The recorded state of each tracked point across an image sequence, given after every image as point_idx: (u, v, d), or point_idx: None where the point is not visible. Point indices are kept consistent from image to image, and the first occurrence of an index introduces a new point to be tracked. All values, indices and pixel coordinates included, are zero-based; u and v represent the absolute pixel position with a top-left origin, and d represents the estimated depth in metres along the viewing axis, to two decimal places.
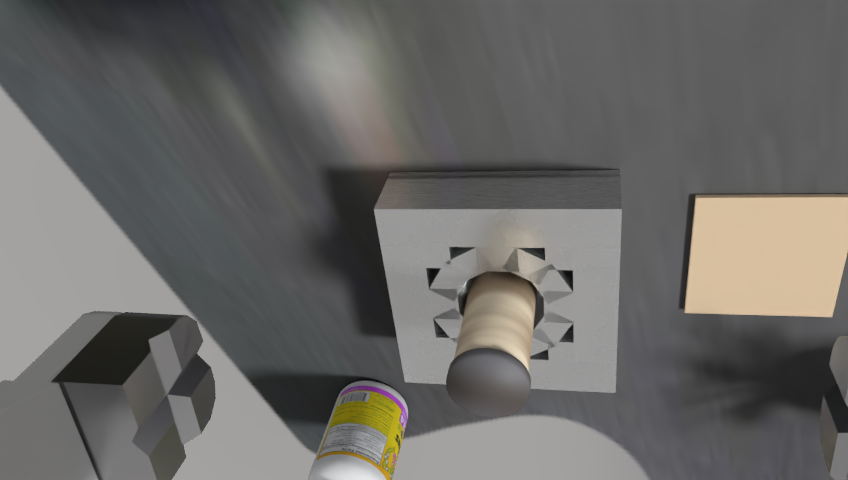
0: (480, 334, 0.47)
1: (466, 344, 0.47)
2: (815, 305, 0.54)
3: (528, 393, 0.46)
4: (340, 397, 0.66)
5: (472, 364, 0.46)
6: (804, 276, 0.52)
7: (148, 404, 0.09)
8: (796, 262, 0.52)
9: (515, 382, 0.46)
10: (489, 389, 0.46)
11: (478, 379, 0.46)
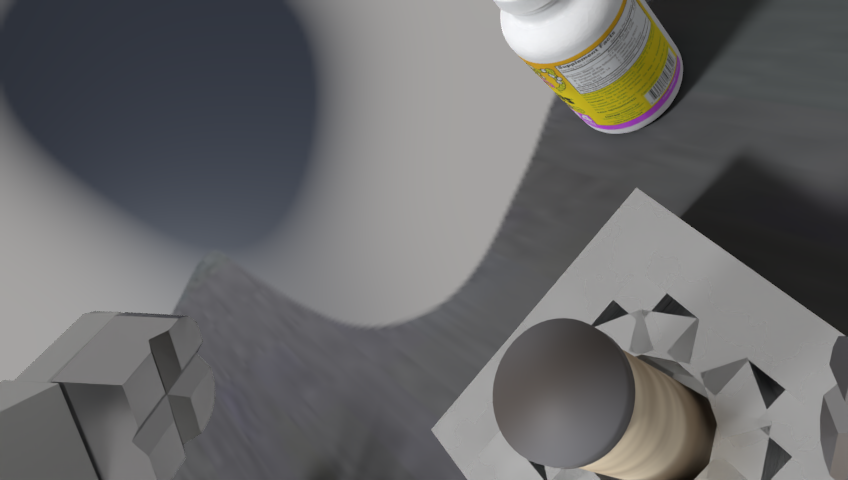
0: (638, 434, 0.27)
1: (639, 407, 0.26)
2: None
3: (505, 436, 0.27)
4: (676, 56, 0.41)
5: (607, 411, 0.25)
6: None
7: (148, 404, 0.09)
8: None
9: (534, 438, 0.26)
10: (551, 390, 0.27)
11: (577, 392, 0.26)
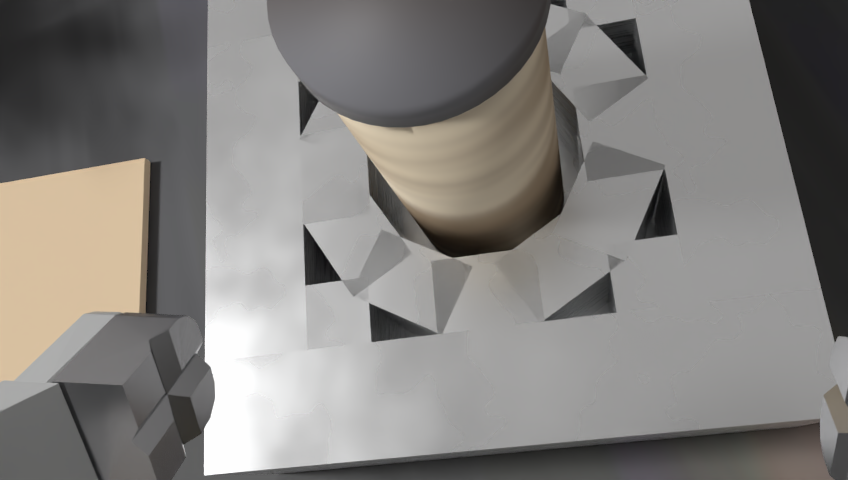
0: (467, 140, 0.15)
1: (503, 102, 0.14)
2: None
3: None
4: None
5: (455, 62, 0.13)
6: None
7: (148, 404, 0.09)
8: None
9: (311, 23, 0.14)
10: None
11: (433, 3, 0.13)
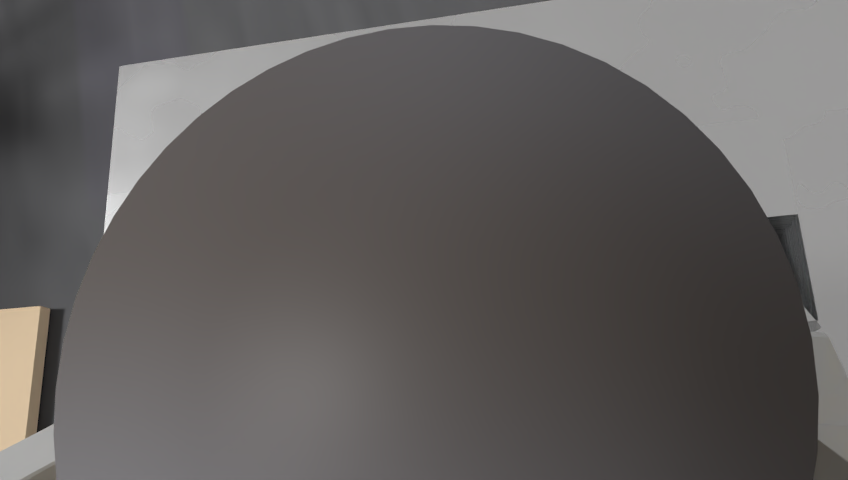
0: None
1: None
2: None
3: (71, 349, 0.06)
4: None
5: None
6: None
7: None
8: None
9: (155, 469, 0.05)
10: (381, 351, 0.05)
11: (479, 471, 0.05)
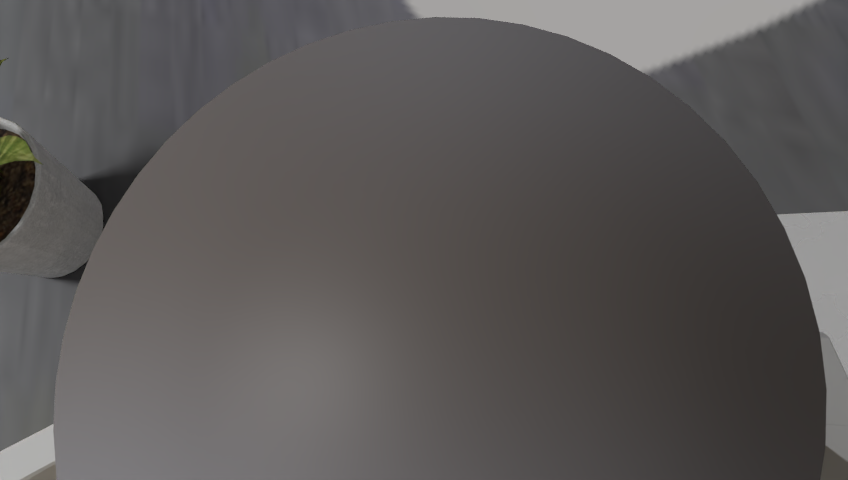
0: None
1: None
2: None
3: (71, 344, 0.06)
4: None
5: None
6: None
7: None
8: None
9: (156, 465, 0.05)
10: (384, 346, 0.05)
11: (483, 466, 0.05)
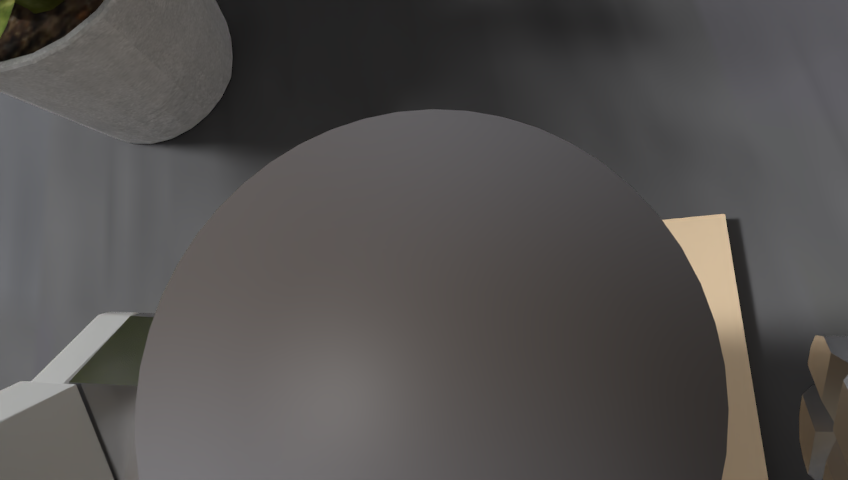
0: None
1: None
2: None
3: (147, 372, 0.07)
4: None
5: None
6: None
7: None
8: None
9: (216, 467, 0.07)
10: (393, 374, 0.07)
11: (469, 468, 0.06)
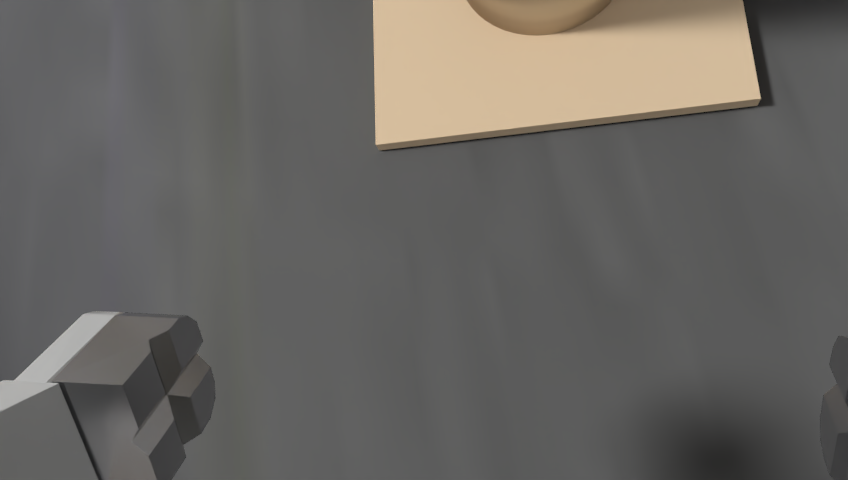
0: None
1: None
2: None
3: None
4: None
5: None
6: None
7: (148, 404, 0.09)
8: None
9: None
10: None
11: None
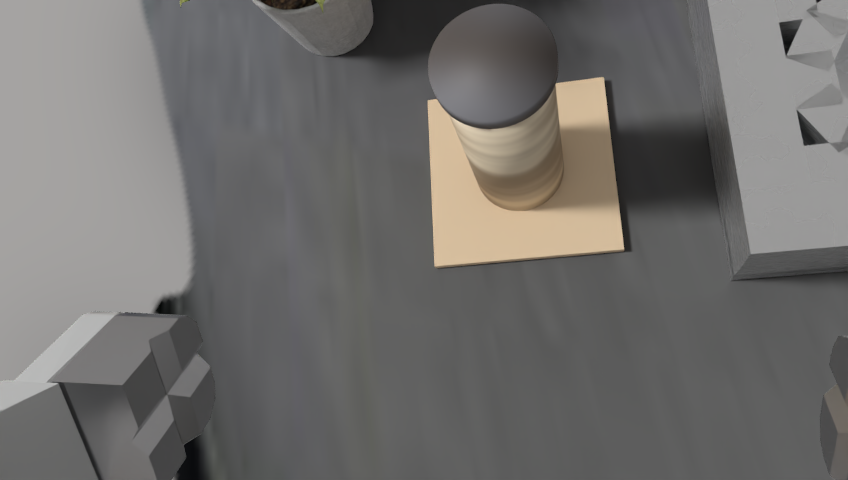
0: (515, 135, 0.31)
1: (533, 118, 0.31)
2: None
3: (430, 63, 0.31)
4: None
5: (514, 102, 0.29)
6: None
7: (148, 404, 0.09)
8: None
9: (449, 80, 0.30)
10: (488, 58, 0.30)
11: (505, 74, 0.30)
